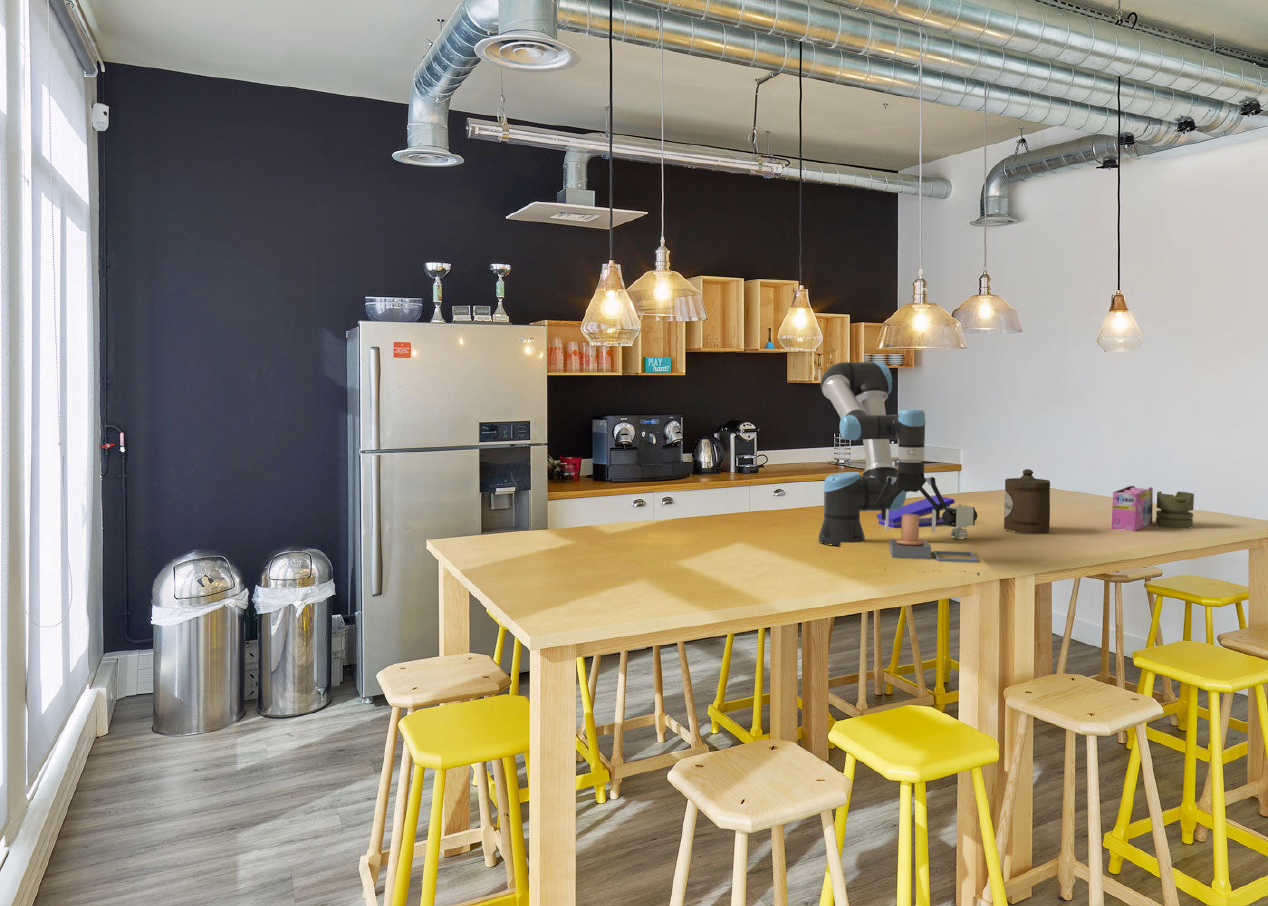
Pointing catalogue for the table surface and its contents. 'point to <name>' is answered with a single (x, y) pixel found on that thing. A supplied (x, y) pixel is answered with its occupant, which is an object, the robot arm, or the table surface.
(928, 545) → the block
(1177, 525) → the piston
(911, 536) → the flanged copper cylinder
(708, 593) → the table surface
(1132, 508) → the gum box
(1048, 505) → the wooden container
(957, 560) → the blue-grey square frame
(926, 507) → the stapler
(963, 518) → the pneumatic valve
